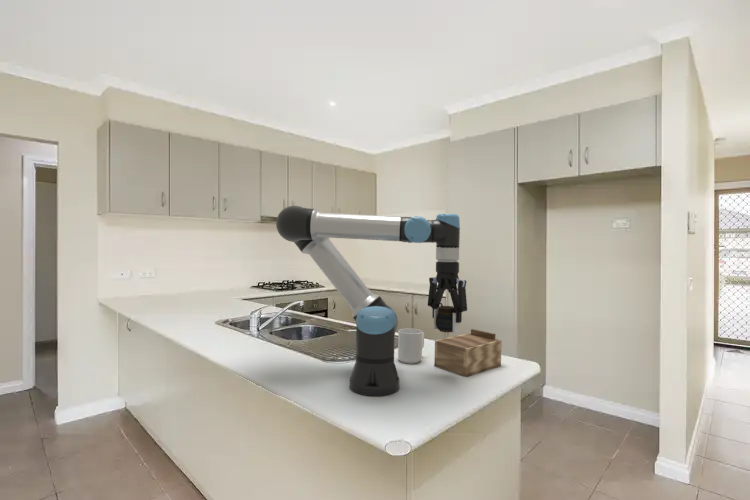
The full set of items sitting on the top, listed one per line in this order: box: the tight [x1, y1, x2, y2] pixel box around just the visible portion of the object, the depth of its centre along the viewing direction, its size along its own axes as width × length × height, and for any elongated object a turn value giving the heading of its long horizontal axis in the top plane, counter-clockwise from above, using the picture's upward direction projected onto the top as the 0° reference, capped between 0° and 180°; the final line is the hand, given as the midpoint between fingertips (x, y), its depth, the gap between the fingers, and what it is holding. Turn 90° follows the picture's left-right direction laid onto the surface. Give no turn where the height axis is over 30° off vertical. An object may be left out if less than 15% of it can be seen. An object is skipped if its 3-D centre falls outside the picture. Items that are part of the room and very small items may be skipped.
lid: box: [437, 328, 499, 352], centre depth 142 cm, size 20×12×3 cm, turn 129°
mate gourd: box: [436, 302, 455, 333], centre depth 131 cm, size 7×8×10 cm
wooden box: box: [433, 332, 503, 378], centre depth 142 cm, size 20×14×9 cm
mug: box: [397, 327, 426, 365], centre depth 148 cm, size 12×9×11 cm
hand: (446, 330), depth 131 cm, fingers closed on mate gourd, 7 cm apart
